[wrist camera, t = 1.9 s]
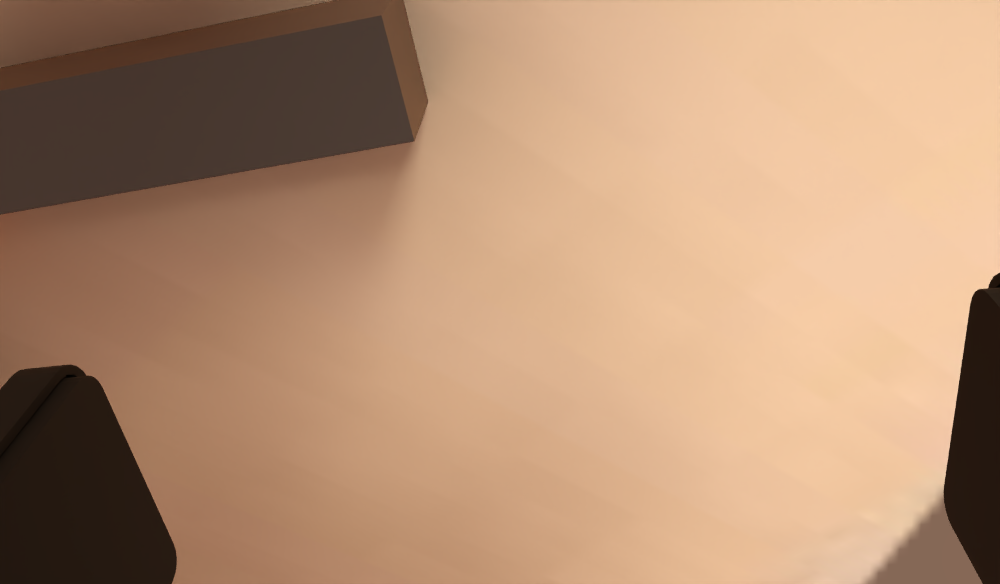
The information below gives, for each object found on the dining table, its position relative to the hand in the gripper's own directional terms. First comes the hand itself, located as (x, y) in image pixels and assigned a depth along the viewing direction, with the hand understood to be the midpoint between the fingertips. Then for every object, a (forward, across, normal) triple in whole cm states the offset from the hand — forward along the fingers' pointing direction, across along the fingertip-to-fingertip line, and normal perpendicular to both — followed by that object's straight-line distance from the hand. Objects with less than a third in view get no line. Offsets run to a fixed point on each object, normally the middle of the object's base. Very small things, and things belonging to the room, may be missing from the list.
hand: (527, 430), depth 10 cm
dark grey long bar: (+17, +12, 0) cm, 21 cm away
